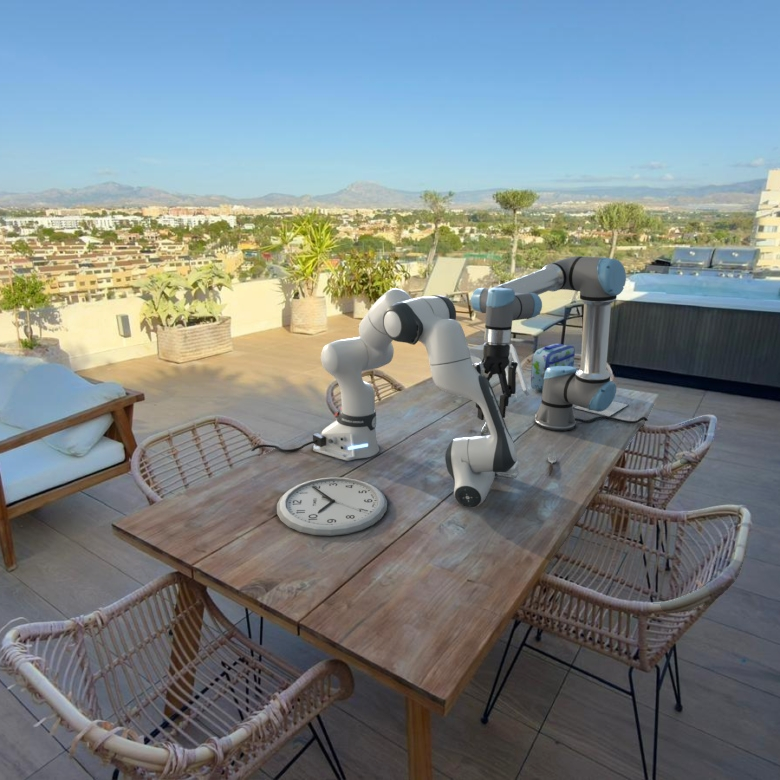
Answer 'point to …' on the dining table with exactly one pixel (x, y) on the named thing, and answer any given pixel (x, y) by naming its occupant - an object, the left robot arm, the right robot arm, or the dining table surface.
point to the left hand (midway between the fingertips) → (488, 453)
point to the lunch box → (550, 361)
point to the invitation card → (609, 411)
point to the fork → (551, 462)
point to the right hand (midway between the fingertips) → (491, 417)
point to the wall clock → (331, 506)
